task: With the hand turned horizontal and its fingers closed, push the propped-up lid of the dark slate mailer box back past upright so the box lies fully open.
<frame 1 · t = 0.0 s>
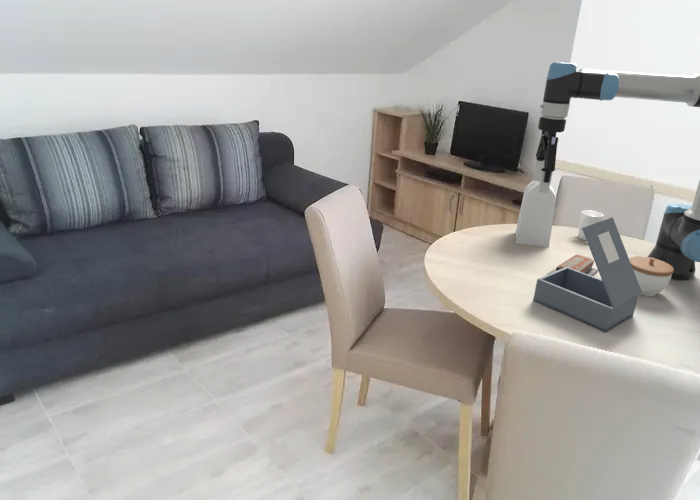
hand: (540, 186, 177), 28 cm above the table, tool pointing down, fingers open, 13 cm apart
lidded bowl: (643, 291, 177), on the table
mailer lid: (612, 260, 153), point 17 cm above the table, hinge at 55.0°
white cup: (586, 238, 220), on the table
milk: (531, 240, 214), on the table
mailer box: (582, 308, 163), on the table
packaged product: (571, 276, 186), on the table
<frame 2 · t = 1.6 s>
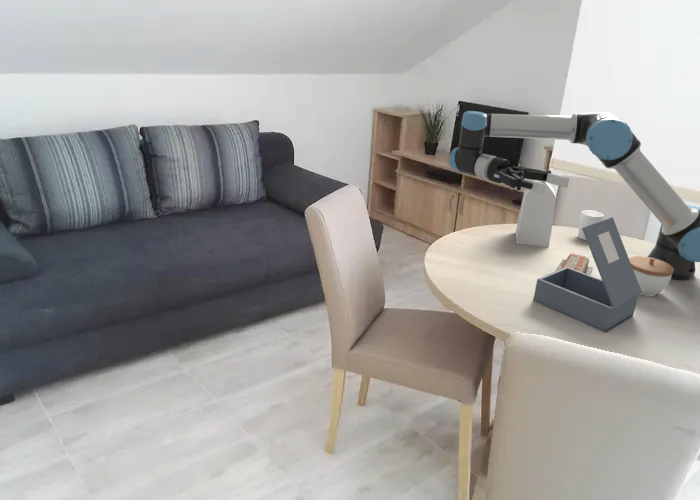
hand: (556, 186, 161), 32 cm above the table, tool horizontal, fingers open, 12 cm apart
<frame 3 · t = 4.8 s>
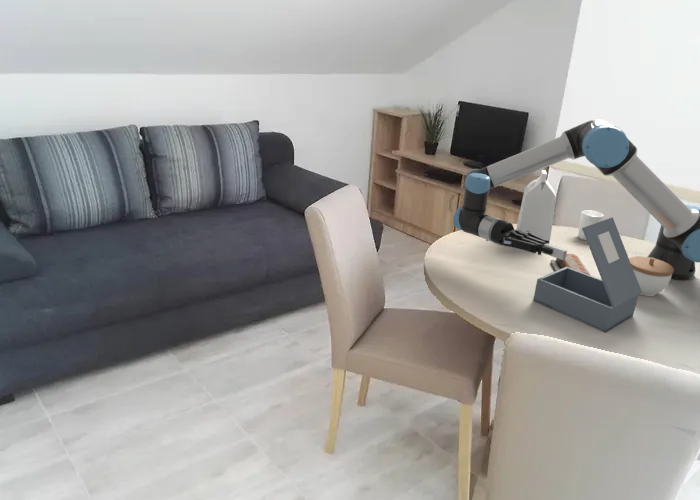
hand: (564, 255, 163), 14 cm above the table, tool horizontal, fingers closed
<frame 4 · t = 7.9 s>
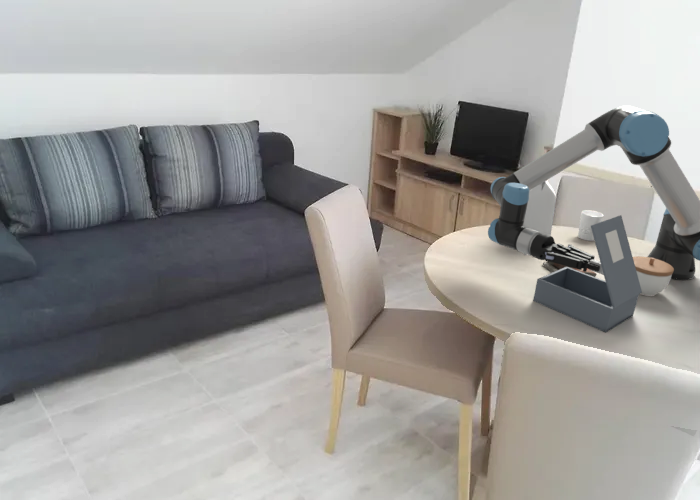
hand: (613, 272, 152), 14 cm above the table, tool horizontal, fingers closed
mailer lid: (617, 260, 152), point 17 cm above the table, hinge at 61.5°, touching gripper
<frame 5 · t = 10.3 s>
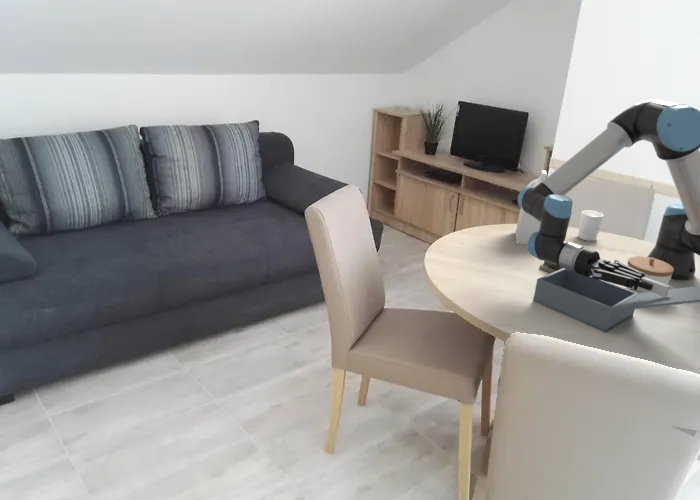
hand: (667, 291, 143), 14 cm above the table, tool horizontal, fingers closed
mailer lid: (670, 297, 144), point 12 cm above the table, hinge at 150.5°
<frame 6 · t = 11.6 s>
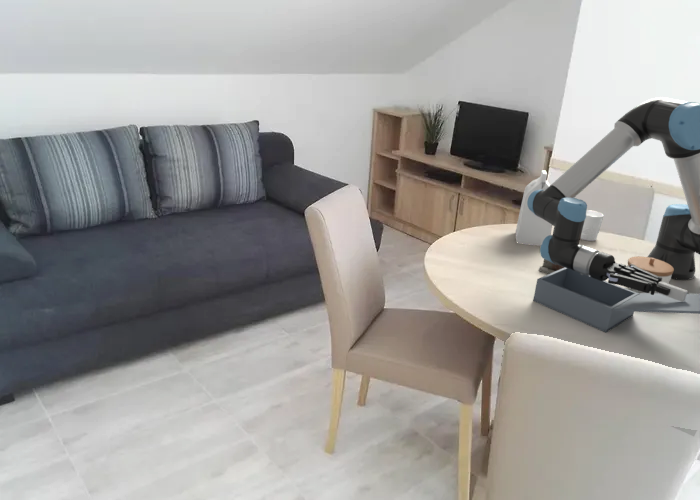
hand: (685, 296, 141), 14 cm above the table, tool horizontal, fingers closed
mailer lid: (671, 302, 144), point 11 cm above the table, hinge at 158.1°, touching gripper
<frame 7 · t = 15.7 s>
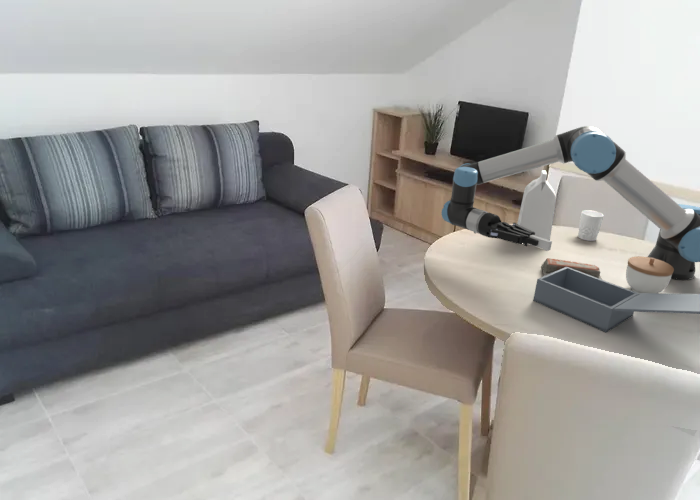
hand: (549, 246, 167), 15 cm above the table, tool horizontal, fingers closed
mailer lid: (671, 302, 144), point 11 cm above the table, hinge at 158.3°
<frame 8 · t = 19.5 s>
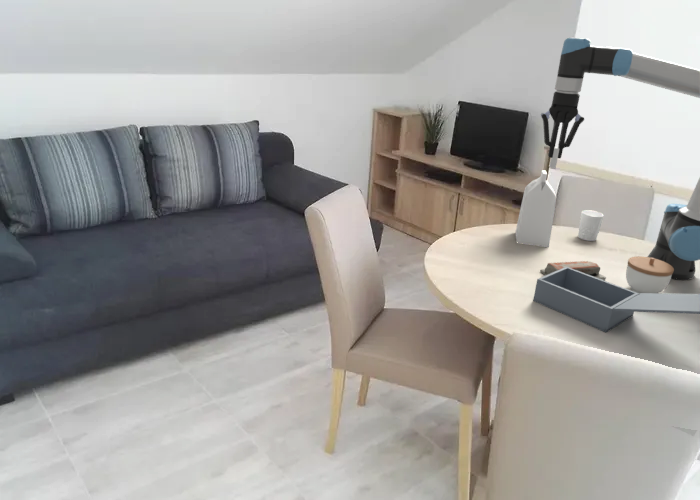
hand: (552, 167, 182), 32 cm above the table, tool pointing down, fingers closed
at the end: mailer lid at +158° (first picture: +55°) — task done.
